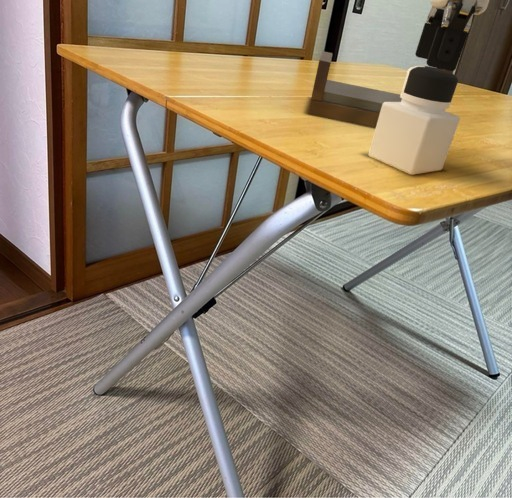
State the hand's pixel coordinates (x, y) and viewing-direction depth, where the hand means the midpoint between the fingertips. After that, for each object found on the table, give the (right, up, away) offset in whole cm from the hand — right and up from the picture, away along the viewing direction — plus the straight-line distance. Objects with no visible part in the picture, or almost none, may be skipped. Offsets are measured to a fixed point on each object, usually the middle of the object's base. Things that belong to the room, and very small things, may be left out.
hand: (433, 63), depth 61 cm
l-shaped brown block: (-4, +1, +28) cm, 28 cm away
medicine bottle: (-2, -11, +6) cm, 13 cm away
